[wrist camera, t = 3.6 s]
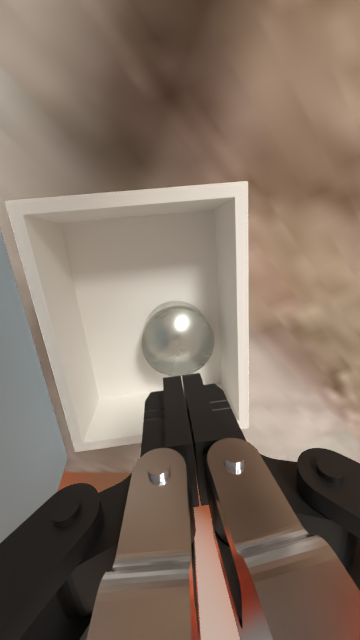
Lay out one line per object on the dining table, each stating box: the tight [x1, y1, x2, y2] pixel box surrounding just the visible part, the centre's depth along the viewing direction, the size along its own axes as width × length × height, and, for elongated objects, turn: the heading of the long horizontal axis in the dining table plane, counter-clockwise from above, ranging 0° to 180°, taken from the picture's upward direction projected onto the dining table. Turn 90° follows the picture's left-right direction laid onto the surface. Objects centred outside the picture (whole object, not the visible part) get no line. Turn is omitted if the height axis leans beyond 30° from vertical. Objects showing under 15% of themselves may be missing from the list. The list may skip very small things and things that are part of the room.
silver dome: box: [142, 301, 214, 376], centre depth 21 cm, size 6×6×3 cm
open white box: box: [4, 181, 249, 452], centre depth 20 cm, size 14×18×6 cm
